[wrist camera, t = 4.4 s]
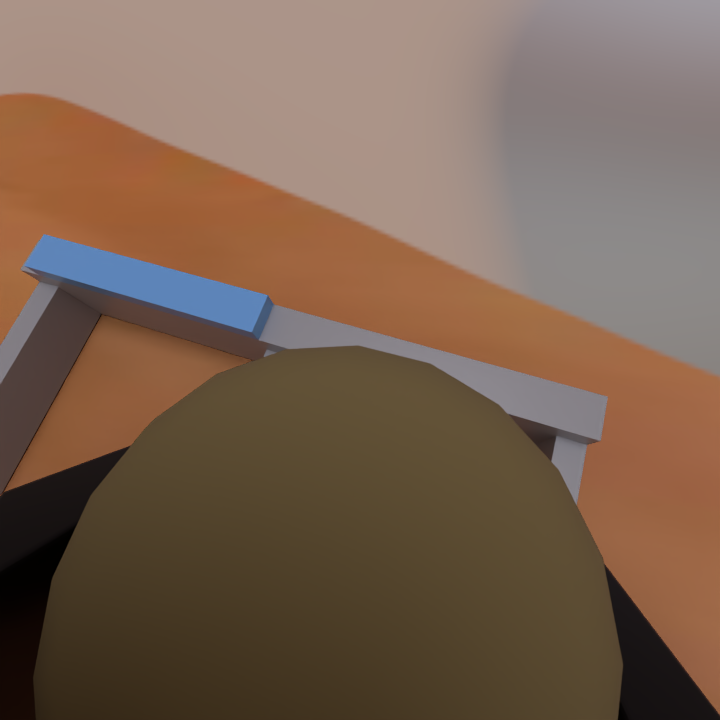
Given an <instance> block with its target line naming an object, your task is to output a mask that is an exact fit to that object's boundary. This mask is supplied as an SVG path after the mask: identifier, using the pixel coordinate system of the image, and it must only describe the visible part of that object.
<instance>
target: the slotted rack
mask: <svg viewBox="0 0 720 720" xmlns="http://www.w3.org/2000/svg"><path fill="white" fill-rule="evenodd" d="M20 270H22V271H23V272H25V273H27V274H28V275H30V276H32V277H33V278H35V279H36V280H38V281H40V282H39V284H38V285H37V287H36V289H35V290H34V292H33V294H32V295H31V297H30V298H29V300H28V302H27V303H26V305H25V307H24V308H23V310H22V311H21V313H20V315H19V316H18V318H17V320H16V321H15V323H14V324H13V326H12V328H11V329H10V331H9V333H8V334H7V336H6V337H5V339H4V341H3V342H2V344H1V346H0V494H2V492H3V490H4V488H5V487H6V485H7V483H8V481H9V479H10V478H11V476H12V474H13V472H14V470H15V469H16V467H17V465H18V463H19V461H20V460H21V458H22V456H23V454H24V452H25V451H26V449H27V447H28V445H29V443H30V442H31V440H32V438H33V436H34V434H35V433H36V431H37V429H38V427H39V425H40V423H41V422H42V420H43V418H44V416H45V414H46V413H47V411H48V409H49V407H50V405H51V404H52V402H53V400H54V398H55V396H56V395H57V393H58V391H59V389H60V387H61V386H62V384H63V382H64V380H65V378H66V377H67V375H68V373H69V371H70V369H71V368H72V366H73V364H74V362H75V360H76V358H77V357H78V355H79V353H80V351H81V349H82V348H83V346H84V344H85V342H86V340H87V339H88V337H89V335H90V333H91V331H92V330H93V328H94V326H95V324H96V322H97V321H98V319H99V317H100V315H101V314H104V315H107V316H110V317H114V318H117V319H120V320H123V321H127V322H130V323H133V324H137V325H140V326H143V327H146V328H150V329H153V330H156V331H159V332H163V333H166V334H169V335H173V336H176V337H179V338H182V339H186V340H189V341H192V342H195V343H199V344H202V345H205V346H209V347H212V348H215V349H218V350H222V351H225V352H228V353H231V354H235V355H238V356H241V357H244V358H248V359H251V360H257V359H260V358H263V357H266V356H268V355H271V354H274V353H277V352H279V351H282V350H285V349H299V348H318V347H336V346H355V345H359V346H363V347H367V348H371V349H375V350H379V351H383V352H387V353H391V354H395V355H399V356H403V357H407V358H411V359H415V360H419V361H423V362H427V363H431V364H432V365H434V366H436V367H437V368H439V369H441V370H442V371H444V372H446V373H447V374H449V375H451V376H452V377H454V378H456V379H457V380H459V381H461V382H462V383H464V384H466V385H467V386H469V387H471V388H472V389H474V390H475V391H477V392H479V393H480V394H482V395H484V396H485V397H487V398H489V399H490V400H492V401H494V402H495V403H497V404H499V405H500V406H501V407H502V408H503V409H504V411H505V412H506V413H507V414H508V415H509V416H510V417H511V418H512V419H513V420H514V421H515V423H516V424H517V425H518V426H519V427H520V428H521V429H522V430H523V431H524V432H525V433H526V435H527V436H528V437H529V438H530V439H531V440H532V441H533V442H534V443H535V444H536V445H537V447H538V448H539V449H540V450H541V451H542V452H543V453H544V454H545V455H546V456H547V457H548V459H549V460H550V461H551V462H552V463H553V464H554V465H555V466H556V467H557V468H558V469H559V471H560V473H561V475H562V477H563V479H564V481H565V483H566V485H567V487H568V489H569V491H570V493H571V495H572V497H573V499H574V501H575V503H576V505H577V499H578V494H579V488H580V482H581V476H582V470H583V465H584V459H585V453H586V447H587V445H588V444H592V443H595V442H599V441H601V435H602V429H603V422H604V416H605V410H606V404H607V398H608V397H607V396H603V395H600V394H596V393H592V392H589V391H585V390H582V389H578V388H574V387H571V386H567V385H563V384H560V383H556V382H553V381H549V380H545V379H542V378H538V377H534V376H531V375H527V374H524V373H520V372H516V371H513V370H509V369H505V368H502V367H498V366H495V365H491V364H487V363H484V362H480V361H477V360H473V359H469V358H466V357H462V356H458V355H455V354H451V353H448V352H444V351H440V350H437V349H433V348H429V347H426V346H422V345H419V344H415V343H411V342H408V341H404V340H400V339H397V338H393V337H390V336H386V335H382V334H379V333H375V332H371V331H368V330H364V329H361V328H357V327H353V326H350V325H346V324H343V323H339V322H335V321H332V320H328V319H324V318H321V317H317V316H314V315H310V314H306V313H303V312H299V311H295V310H292V309H288V308H285V307H281V306H277V305H274V304H273V303H272V301H271V299H270V298H269V296H268V295H265V294H261V293H257V292H254V291H250V290H246V289H243V288H239V287H235V286H232V285H228V284H224V283H221V282H217V281H213V280H210V279H206V278H202V277H199V276H195V275H191V274H188V273H184V272H180V271H177V270H173V269H169V268H166V267H162V266H158V265H155V264H151V263H147V262H144V261H140V260H136V259H133V258H129V257H125V256H122V255H118V254H114V253H111V252H107V251H103V250H100V249H96V248H92V247H89V246H85V245H81V244H78V243H74V242H70V241H67V240H63V239H59V238H56V237H52V236H48V235H45V234H44V235H43V237H42V238H41V240H39V241H38V243H37V244H36V246H35V247H34V249H33V250H32V252H31V254H30V255H29V257H28V258H27V260H26V261H25V263H24V265H23V266H22V268H21V269H20Z"/></svg>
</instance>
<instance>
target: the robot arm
mask: <svg viewBox="0 0 720 720" xmlns="http://www.w3.org/2000/svg"><path fill="white" fill-rule="evenodd" d="M129 448H130V446H128V447H126V448H123V449H120V450H117V451H115V452H112V453H109V454H107V455H104V456H101V457H98V458H96V459H93V460H90V461H88V462H85V463H82V464H79V465H77V466H74V467H71V468H68V469H66V470H63V471H60V472H58V473H55V474H52V475H49V476H47V477H44V478H41V479H38V480H36V481H33V482H30V483H28V484H25V485H22V486H19V487H17V488H14V489H11V490H8V491H6V492H4V493H3V494H2V495H1V496H0V720H36V714H35V698H34V683H33V676H34V670H35V665H36V660H37V655H38V649H39V644H40V639H41V634H42V628H43V623H44V618H45V613H46V607H47V602H48V597H49V592H50V586H51V581H52V578H53V576H54V573H55V571H56V569H57V567H58V565H59V563H60V560H61V558H62V556H63V554H64V552H65V550H66V547H67V545H68V543H69V541H70V539H71V537H72V534H73V532H74V530H75V528H76V526H77V524H78V522H79V519H80V517H81V515H82V513H83V511H84V509H85V506H86V504H87V502H88V500H89V498H90V496H91V494H92V493H93V492H94V491H95V489H96V488H97V487H98V486H99V484H100V483H101V482H102V481H103V480H104V478H105V477H106V476H107V475H108V473H109V472H110V471H111V470H112V469H113V467H114V466H115V465H116V464H117V462H118V461H119V460H120V459H121V457H122V456H123V455H124V454H125V453H126V451H127V450H128V449H129ZM604 567H605V572H606V577H607V582H608V588H609V593H610V598H611V603H612V609H613V614H614V619H615V624H616V630H617V635H618V640H619V646H620V651H621V656H622V661H623V671H622V682H621V692H620V702H619V713H618V720H720V715H719V714H718V712H717V711H716V710H715V708H714V707H713V706H712V704H711V703H710V702H709V700H708V699H707V698H706V697H705V695H704V694H703V693H702V691H701V690H700V689H699V687H698V686H697V685H696V683H695V682H694V681H693V679H692V678H691V677H690V676H689V674H688V673H687V672H686V670H685V669H684V668H683V666H682V665H681V664H680V662H679V661H678V660H677V658H676V657H675V656H674V655H673V653H672V652H671V651H670V649H669V648H668V647H667V645H666V644H665V643H664V641H663V640H662V639H661V637H660V636H659V635H658V634H657V632H656V631H655V630H654V628H653V627H652V626H651V624H650V623H649V622H648V620H647V619H646V618H645V616H644V615H643V614H642V613H641V611H640V610H639V609H638V607H637V606H636V605H635V603H634V602H633V601H632V599H631V598H630V597H629V596H628V594H627V593H626V592H625V590H624V589H623V588H622V586H621V585H620V584H619V582H618V581H617V580H616V578H615V577H614V576H613V575H612V573H611V572H610V571H609V569H608V568H607V567H606V565H605V564H604Z"/></svg>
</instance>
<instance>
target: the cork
mask: <svg viewBox="0 0 720 720" xmlns="http://www.w3.org/2000/svg"><path fill="white" fill-rule="evenodd" d="M622 671H623V661H622V656H621V651H620V646H619V640H618V635H617V630H616V624H615V619H614V614H613V609H612V603H611V598H610V593H609V588H608V582H607V577H606V572H605V567H604V561H603V557H602V555H601V553H600V551H599V549H598V547H597V545H596V543H595V541H594V539H593V537H592V535H591V533H590V531H589V529H588V527H587V525H586V523H585V521H584V519H583V517H582V515H581V513H580V511H579V509H578V507H577V505H576V503H575V501H574V499H573V497H572V495H571V493H570V491H569V489H568V487H567V485H566V483H565V481H564V479H563V477H562V475H561V473H560V471H559V469H558V468H557V467H556V466H555V465H554V464H553V463H552V462H551V461H550V460H549V459H548V457H547V456H546V455H545V454H544V453H543V452H542V451H541V450H540V449H539V448H538V447H537V445H536V444H535V443H534V442H533V441H532V440H531V439H530V438H529V437H528V436H527V435H526V433H525V432H524V431H523V430H522V429H521V428H520V427H519V426H518V425H517V424H516V423H515V421H514V420H513V419H512V418H511V417H510V416H509V415H508V414H507V413H506V412H505V411H504V409H503V408H502V407H501V406H500V405H499V404H497V403H495V402H494V401H492V400H490V399H489V398H487V397H485V396H484V395H482V394H480V393H479V392H477V391H475V390H474V389H472V388H471V387H469V386H467V385H466V384H464V383H462V382H461V381H459V380H457V379H456V378H454V377H452V376H451V375H449V374H447V373H446V372H444V371H442V370H441V369H439V368H437V367H436V366H434V365H432V364H431V363H427V362H423V361H419V360H415V359H411V358H407V357H403V356H399V355H395V354H391V353H387V352H383V351H379V350H375V349H371V348H367V347H363V346H359V345H355V346H336V347H318V348H299V349H285V350H282V351H279V352H277V353H274V354H271V355H268V356H266V357H263V358H260V359H257V360H254V361H252V362H249V363H246V364H243V365H240V366H238V367H235V368H232V369H229V370H227V371H224V372H221V373H218V374H216V375H215V376H213V377H212V378H211V379H209V380H208V381H206V382H205V383H204V384H202V385H201V386H200V387H198V388H197V389H195V390H194V391H193V392H191V393H190V394H188V395H187V396H186V397H184V398H183V399H181V400H180V401H179V402H177V403H176V404H175V405H173V406H172V407H170V408H169V409H168V410H166V411H165V412H163V413H162V414H161V415H159V416H158V417H157V418H155V419H154V420H153V421H152V422H151V423H150V424H149V425H148V426H147V427H146V428H145V429H144V430H143V432H142V433H141V434H140V435H139V437H138V438H137V439H136V440H135V441H134V443H133V444H132V445H131V446H130V448H129V449H128V450H127V451H126V453H125V454H124V455H123V456H122V457H121V459H120V460H119V461H118V462H117V464H116V465H115V466H114V467H113V469H112V470H111V471H110V472H109V473H108V475H107V476H106V477H105V478H104V480H103V481H102V482H101V483H100V484H99V486H98V487H97V488H96V489H95V491H94V492H93V493H92V494H91V496H90V498H89V500H88V502H87V504H86V506H85V509H84V511H83V513H82V515H81V517H80V519H79V522H78V524H77V526H76V528H75V530H74V532H73V534H72V537H71V539H70V541H69V543H68V545H67V547H66V550H65V552H64V554H63V556H62V558H61V560H60V563H59V565H58V567H57V569H56V571H55V573H54V576H53V578H52V581H51V586H50V592H49V597H48V602H47V607H46V613H45V618H44V623H43V628H42V634H41V639H40V644H39V649H38V655H37V660H36V665H35V670H34V676H33V683H34V698H35V714H36V720H618V713H619V702H620V692H621V682H622Z"/></svg>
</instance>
